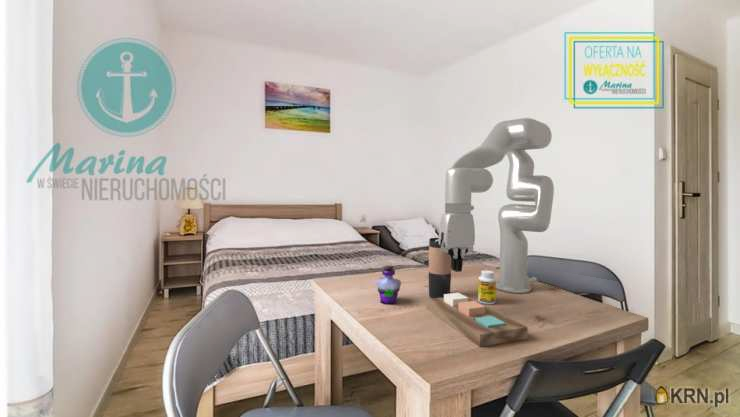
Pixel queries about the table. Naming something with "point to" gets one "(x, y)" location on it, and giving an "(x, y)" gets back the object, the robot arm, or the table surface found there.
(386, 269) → the potion bottle
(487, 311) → the console
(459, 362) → the table surface
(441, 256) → the travel mug
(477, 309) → the terracotta button
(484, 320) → the teal button
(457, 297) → the ivory button
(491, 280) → the supplement bottle
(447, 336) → the table surface
